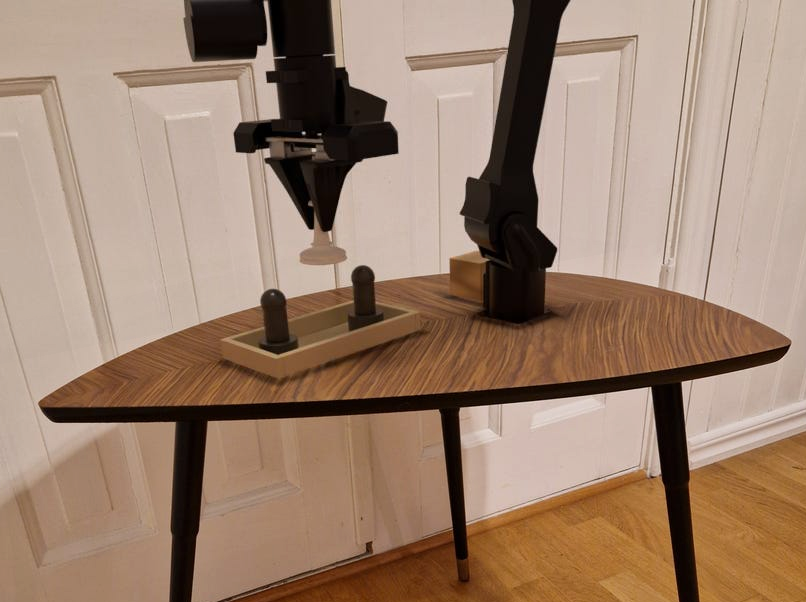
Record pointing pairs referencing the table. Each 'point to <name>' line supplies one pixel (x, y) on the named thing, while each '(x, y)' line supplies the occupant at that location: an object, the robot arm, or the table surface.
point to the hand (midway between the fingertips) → (320, 230)
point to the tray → (319, 339)
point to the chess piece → (321, 248)
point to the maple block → (467, 275)
